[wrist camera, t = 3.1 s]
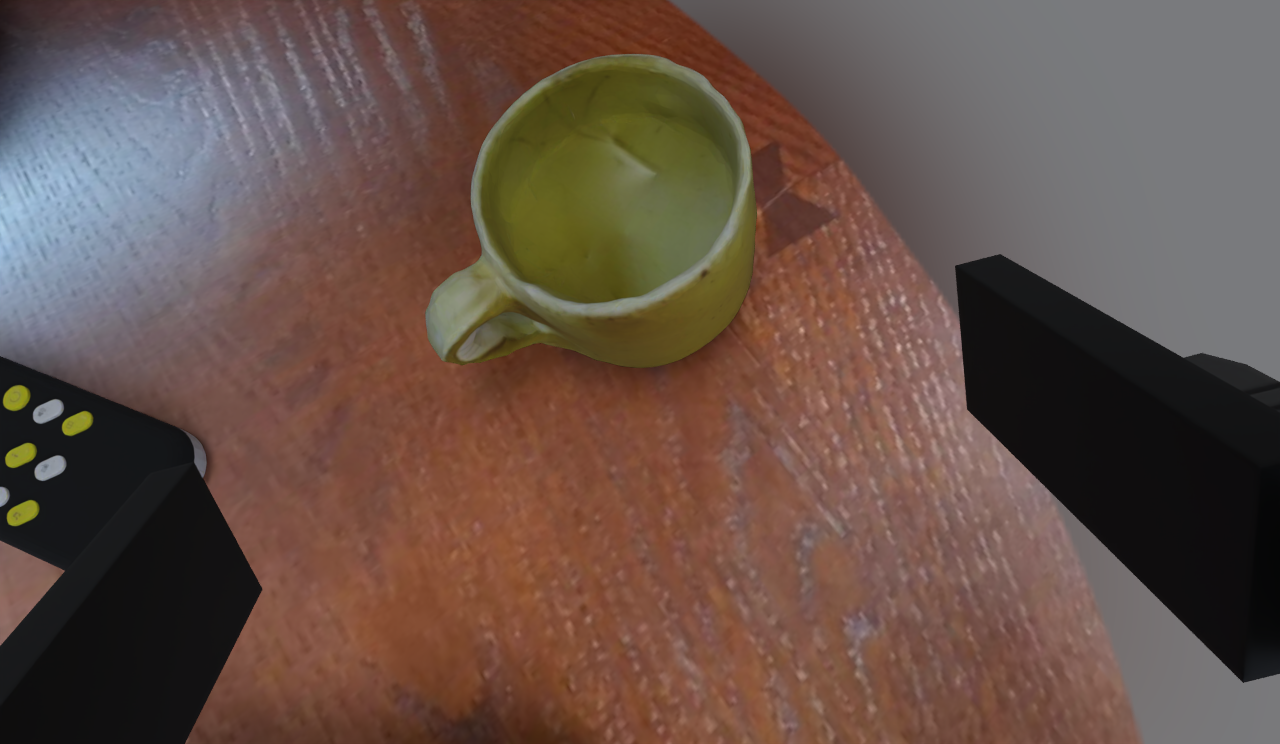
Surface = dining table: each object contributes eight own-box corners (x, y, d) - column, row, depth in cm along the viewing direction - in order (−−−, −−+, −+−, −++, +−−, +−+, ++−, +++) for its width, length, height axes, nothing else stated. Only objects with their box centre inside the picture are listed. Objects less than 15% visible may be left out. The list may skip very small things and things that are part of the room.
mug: (691, 74, 35) (664, -36, 25) (809, 293, 34) (831, 271, 24) (440, 221, 36) (322, 173, 26) (551, 431, 36) (473, 464, 26)
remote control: (144, 599, 31) (107, 595, 30) (-106, 484, 34) (-154, 473, 32) (227, 448, 33) (197, 434, 31) (-17, 350, 36) (-59, 332, 34)
